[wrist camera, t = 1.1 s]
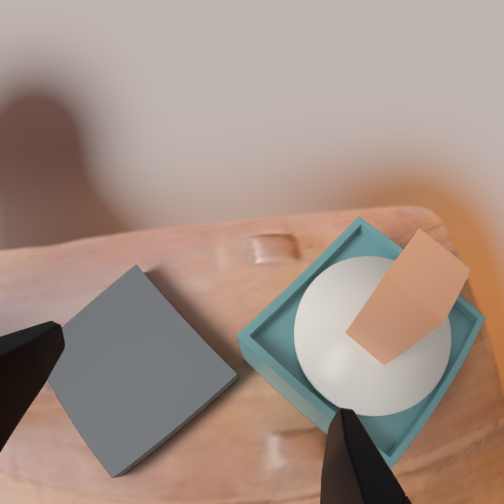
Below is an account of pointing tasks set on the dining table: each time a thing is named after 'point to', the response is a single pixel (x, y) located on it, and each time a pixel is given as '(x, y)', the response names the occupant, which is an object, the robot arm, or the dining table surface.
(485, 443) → the dining table surface
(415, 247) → the lid
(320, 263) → the tray
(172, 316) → the slate mat
